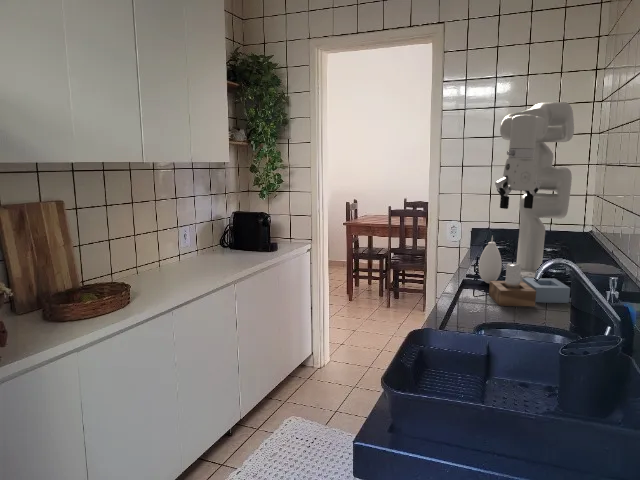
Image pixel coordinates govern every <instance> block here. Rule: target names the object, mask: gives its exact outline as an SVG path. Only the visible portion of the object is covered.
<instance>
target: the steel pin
mask: <svg viewBox="0 0 640 480" xmlns="http://www.w3.org/2000/svg"><path fill="white" fill-rule="evenodd" d="M505 269H506V270H505V280H504V281H505V288H509V289H519V287H520V276H521V265H519V264H516V263H507V264H506V268H505Z"/></svg>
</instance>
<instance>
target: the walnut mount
mask: <svg viewBox="0 0 640 480" xmlns="http://www.w3.org/2000/svg"><path fill="white" fill-rule="evenodd" d="M488 296H489V297H490V298H491V299H492V300H493V301H494V302H495V303H496V304H497V305H498V306H500V307H536V302H535V299H536V291H535V290H534V289H533V288H531V287H530V286H528V285H527V284H526V283H524V282H523V281H520V287H519V289H509V288H505V280H496V281H490V284H489V288H488Z"/></svg>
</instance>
